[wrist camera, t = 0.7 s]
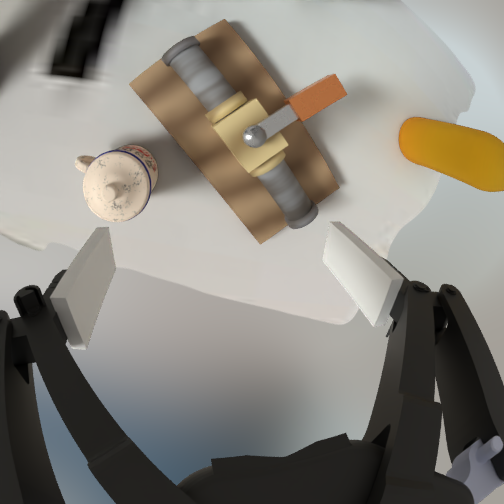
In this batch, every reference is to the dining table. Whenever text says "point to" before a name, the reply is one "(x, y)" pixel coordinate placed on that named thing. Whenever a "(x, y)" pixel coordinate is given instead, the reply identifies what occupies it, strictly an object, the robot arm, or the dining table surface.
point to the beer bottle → (455, 152)
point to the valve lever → (296, 109)
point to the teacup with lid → (118, 182)
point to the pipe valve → (236, 130)
